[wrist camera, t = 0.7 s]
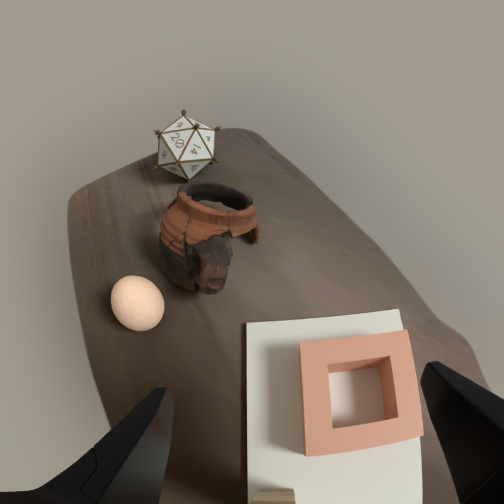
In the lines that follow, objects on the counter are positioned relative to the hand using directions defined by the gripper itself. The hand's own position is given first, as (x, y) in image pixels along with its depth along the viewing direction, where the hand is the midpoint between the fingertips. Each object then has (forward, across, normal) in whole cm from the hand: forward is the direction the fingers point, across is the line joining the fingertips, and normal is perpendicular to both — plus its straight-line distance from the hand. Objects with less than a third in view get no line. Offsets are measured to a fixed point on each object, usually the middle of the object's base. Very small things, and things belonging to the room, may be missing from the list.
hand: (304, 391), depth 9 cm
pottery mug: (+20, +6, +4) cm, 22 cm away
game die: (+32, +9, -4) cm, 34 cm away
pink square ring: (+8, -5, +10) cm, 14 cm away
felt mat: (+6, -4, +12) cm, 14 cm away
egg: (+16, +11, +7) cm, 21 cm away
